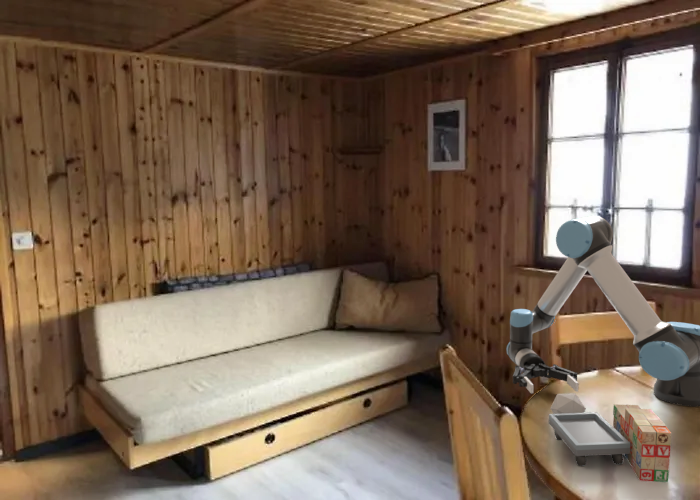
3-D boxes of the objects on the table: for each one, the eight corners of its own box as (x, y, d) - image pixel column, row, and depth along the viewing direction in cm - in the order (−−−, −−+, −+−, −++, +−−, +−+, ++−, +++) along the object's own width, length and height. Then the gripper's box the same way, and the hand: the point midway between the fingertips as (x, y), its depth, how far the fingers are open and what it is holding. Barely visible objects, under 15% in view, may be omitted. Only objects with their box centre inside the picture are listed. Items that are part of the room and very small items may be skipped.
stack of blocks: (612, 436, 148) (613, 392, 146) (637, 437, 147) (639, 393, 145) (639, 481, 127) (642, 430, 125) (669, 483, 126) (672, 432, 124)
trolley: (596, 433, 150) (597, 412, 149) (629, 467, 133) (630, 443, 132) (548, 435, 149) (549, 413, 148) (575, 469, 132) (576, 445, 132)
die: (580, 433, 151) (595, 401, 153) (551, 417, 152) (566, 385, 154) (568, 430, 159) (582, 400, 161) (541, 414, 160) (555, 385, 162)
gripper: (566, 372, 187) (595, 398, 166) (493, 375, 187) (513, 401, 166) (567, 351, 186) (596, 374, 165) (493, 354, 186) (513, 377, 165)
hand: (554, 388), depth 166 cm, fingers open, 13 cm apart
